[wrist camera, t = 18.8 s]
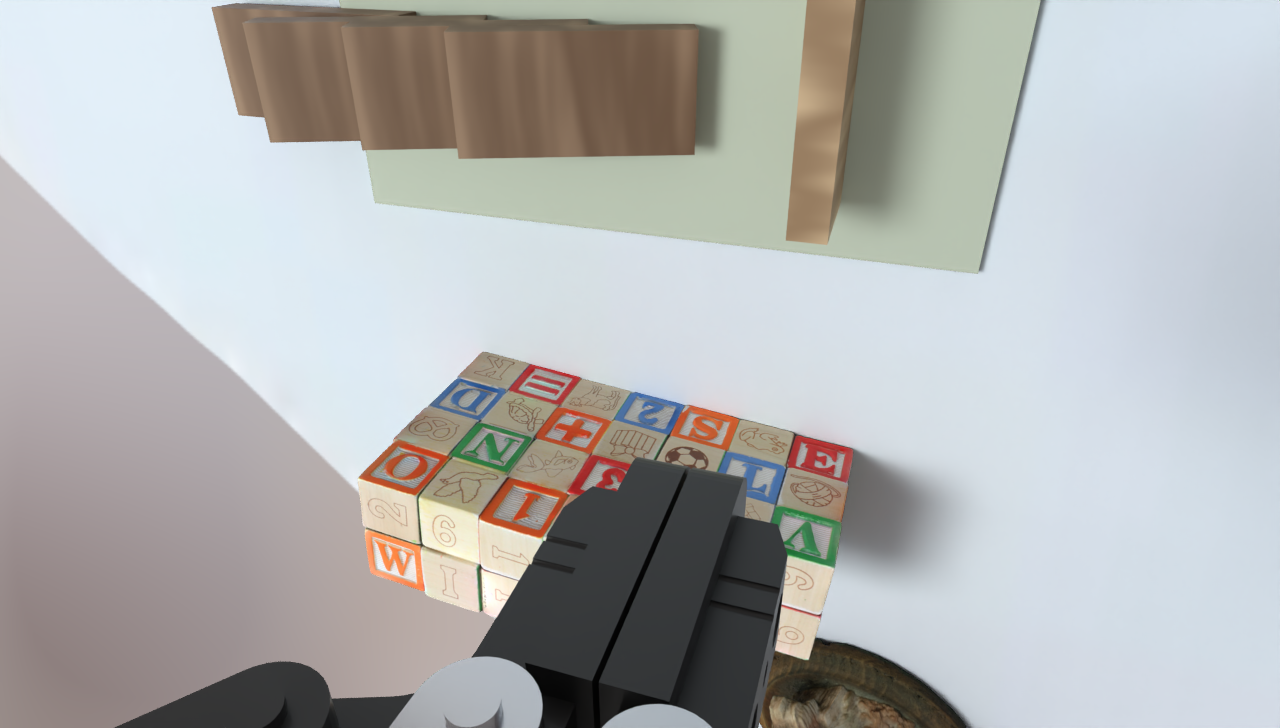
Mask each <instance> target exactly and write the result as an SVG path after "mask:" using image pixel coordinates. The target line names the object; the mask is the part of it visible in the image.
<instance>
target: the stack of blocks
mask: <svg viewBox="0 0 1280 728" xmlns="http://www.w3.org/2000/svg"><path fill="white" fill-rule="evenodd" d="M637 457H641V458H646V459H651V460H657V461H662V462H667V463H672V464H677V465H682V466H688V467H690V469H692V468H699V469H704V470H709V471H715V472H720V473H725V474H730V475H735V476H740V477H745V478H747V495H746V507H745V518H750V519H755V520H760V521H764V522H769V523H774V524H778V526H779V530H780V533H781V536H782V539H783V542H784V545H785V548H786V552H787V555H788V558H787V566H786V574H785V582H784V590H783V598H782V606H781V614H780V623H779V631H778V638H777V643H776V648H775V651H778V652H780V653H784V654H788V655H791V656H794V657H797V658H800V659H803V660H809V657H810V654H811V650H812V647H813V644H814V640H815V637H816V633H817V630H818V627H819V623H820V620H821V615H822V610H823V607H824V604H825V600H826V597H827V593H828V590H829V586H830V583H831V579H832V576H833V573H834V570H835V564H836V559H837V553H838V546H839V540H840V534H841V528H842V524H841V521H842V517H843V512H844V507H845V501H846V497H847V491H848V480H849V475H850V471H851V466H852V460H853V449H851V448H847V447H843V446H839V445H835V444H831V443H826V442H822V441H818V440H815V439H811V438H806V437H802V436H795V435H794V433H792V432H789V431H786V430H782V429H778V428H774V427H771V426H767V425H763V424H759V423H755V422H751V421H746V420H739V419H737V418H735V417H732V416H728V415H725V414H721V413H717V412H713V411H710V410H706V409H702V408H698V407H694V406H691V405H686V406H684V405H682V404H679V403H675V402H671V401H667V400H663V399H659V398H655V397H652V396H648V395H644V394H640V393H637V392H630V391H627V390H624V389H620V388H616V387H612V386H608V385H604V384H600V383H596V382H593V381H589V380H584V379H581V378H580V377H577V376H573V375H570V374H566V373H562V372H558V371H555V370H551V369H547V368H543V367H539V366H535V365H532V364H528V363H526V362H522V361H518V360H514V359H511V358H507V357H503V356H499V355H495V354H491V353H488V352H482V353H481V354H480V355H479V356H478V357H477V358H476V359H475V360H474V361H473V362H472V363H471V364H470V365H469V366H468V367H467V368H466V369H465V370H464V371H463V372H462V373H461V374H460V375H459V376H458V377H457V379H456V380H455V381H454V382H453V383H451V384H450V385H449V386H448V387H447V388H446V389H445V390H444V391H443V392H442V393H441V394H440V395H439V396H438V397H437V398H436V399H435V400H434V401H433V402H432V403H431V404H430V405H429V406H428V407H427V408H425V409H423V410H422V411H421V412H420V413H419V414H418V415H417V416H416V417H415V418H414V419H413V420H412V421H411V422H410V423H409V424H408V425H407V426H406V427H405V428H404V429H403V430H402V431H401V432H400V433H399V434H398V435H397V436H396V437H395V438H394V443H393V444H392V445H391V446H389V447H388V448H387V449H386V450H385V451H384V452H383V453H382V454H381V455H380V456H379V457H378V458H377V459H376V460H375V461H374V462H373V463H372V464H371V465H370V466H369V467H368V468H367V469H366V470H365V471H364V472H363V473H362V474H361V475H360V476H359V478H358V486H359V494H360V502H361V509H362V520H363V526H365V527H366V529H365V540H366V547H367V554H368V560H369V566H370V571H371V573H372V574H373V575H376V576H379V577H382V578H385V579H388V580H391V581H394V582H397V583H400V584H403V585H405V586H408V587H412V588H415V589H418V590H421V591H425V593H426V595H427V596H429V597H432V598H435V599H438V600H441V601H444V602H447V603H450V604H453V605H456V606H459V607H462V608H465V609H469V610H472V611H475V612H481V611H484V612H485V613H486V614H487V615H489V616H492V617H495V618H497V616H498V614H499V613H500V611H501V609H502V608H503V606H504V605H505V603H506V601H507V600H508V598H509V596H510V595H511V593H512V591H513V590H514V588H515V586H516V585H517V583H518V582H519V580H520V578H521V577H522V575H523V573H524V572H525V570H526V568H527V567H528V565H529V564H532V561H533V557H534V555H535V554H536V552H537V550H538V549H539V547H540V545H541V544H542V542H543V541H546V538H547V534H548V532H549V530H550V529H551V527H552V526H553V524H554V522H555V521H556V519H557V517H558V516H559V514H560V512H561V511H562V509H563V507H565V506H566V505H567V504H569V503H570V502H571V501H573V500H574V499H576V498H577V497H578V496H580V495H581V494H582V493H584V492H585V491H587V490H588V489H589V488H591V487H592V486H594V487H599V488H604V489H609V490H614V491H617V490H618V488H619V486H620V484H621V482H622V480H623V479H624V477H625V475H626V473H627V471H628V469H629V467H630V465H631V464H632V462H633V461H634V459H635V458H637Z"/></svg>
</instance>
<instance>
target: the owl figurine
mask: <svg viewBox="0 0 1280 728" xmlns="http://www.w3.org/2000/svg"><path fill="white" fill-rule="evenodd" d="M829 645H830V646H827V645H824V644H822V641H821V640H818V639H815V640H814V644H813V647H812V650H811V654H810V657H809V660H803V659H800V658H797V657H794V656H791V655H788V654H784V653H780V652H778V651H775V652H774V657H773V661H772V666H771V670H770V674H769V680H768V684H767V689H766V693H765V698H764V701H763V707H762V712H761V716H760V721H759V722H760V724H761V725H762V727H763V728H966V726H965V724H964V723H963V721H962V720H961V719H960V718H959V717H958V715H957V714H956V713H955V712H954V711H953V710H952V709H951V708H950V707H949V706H948V705H947V704H946V703H945V702H944V701H943V700H942V699H941V698H939V697H938V696H937V695H936V694H935V693H934V692H933V691H932V690H931V689H930V688H928V687H927V686H926V685H925V684H924V683H922V682H921V681H919V680H918V679H916V678H915V677H913V676H911V675H910V674H909V673H907V672H905V671H904V670H902V669H900V668H899V667H897V666H896V665H894V664H893V663H891V662H889V661H887V660H885V659H883V658H881V657H879V656H877V655H875V654H872V653H870V652H868V651H865V650H862V649H859V648H856V647H853V646H849V645H847V644H841V643H830V644H829Z"/></svg>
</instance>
